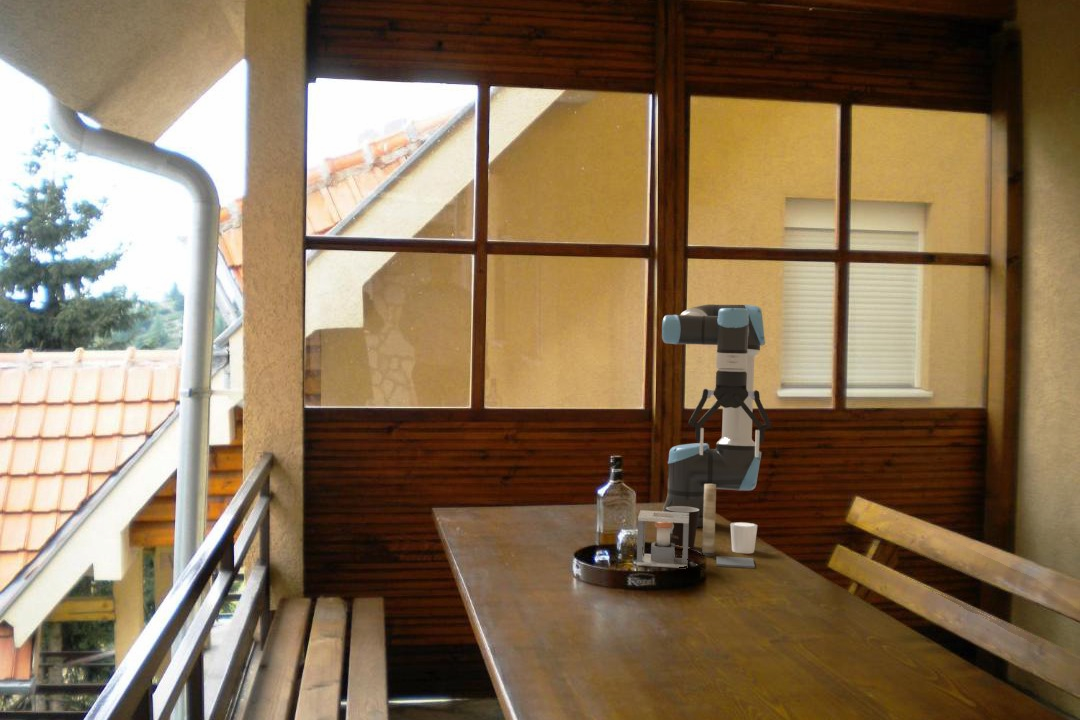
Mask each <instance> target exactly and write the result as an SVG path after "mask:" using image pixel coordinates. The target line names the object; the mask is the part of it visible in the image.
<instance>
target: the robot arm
mask: <svg viewBox="0 0 1080 720" xmlns="http://www.w3.org/2000/svg"><path fill="white" fill-rule="evenodd" d="M763 320H764V319H763V311H762V309H761V307H759V306H757V305H752V304H702V305H698V306H697V305H696V306H695V307H694V306H693V307H691V308H688V309H686V310H684V311H682V312H681V313H680V314H666V315H664V317H663V319H662V322H661V323H662V326H661V339H662V341H663V343H664V344H673V345H704V346H705V345H707V346H716V348H717V349H716V361H715V362H716V364H715V365H716V366H715V367H716V369H718V370H716V372H715V388H714V390H712V389H708V388H703V389H702V393H701V394H702V395H701V399H700V400H699V402H698V404H697V406H696V407H695V409H694V411H693V413H692V415H691V417H690V418H689V420H688V425H689V426H691V427H694V428H695V441H696V442H697V443H695V442H694V443H686V444H678V445H675V446H672V447H671V448H670V450H668V451H669V453H668V461H667V464H668V472H667V473H668V475H667V477H668V478H667V494H666V495H667V496H666V498H665V499H666V500H665V502H664V505H663V507H662V510H661V511H664V512H666V508H667V507H672V506H685V507H693V508H697V509H699V516H698V523H697V528H703V507H704V484H716V490H727V491H728V490H730V491H731V490H733V491H739V492H740V491H753V490H754V489H755V488H756V486H757V482H758V475H759V470H760V465H761V463H760V462H761V458H762V451H760V445H761V444H764V441H765V431H766V430H768V429H772V427H773V426H772V423H771V421H770V418H769V416H768V414H767V412H766V410H765V408H764V406H763V404H762V402H761V398H760V391H759V390H757V389H756V390H754V377H755V375H754V374H755V357H756V356H757V355H758V354H759V353H760V352H761V347H762V346H765V344H766V341H765V340H766V339H765V330H764V321H763ZM712 396H713V397H715V399H716V401H715V402H714V403H713V404H712V406H711V407H710V408H709V409H708V410H707V411H706V412H705V413H704V414H703V416H702V417H701V418H700V419H699V420H698V421H696V420H697V419H698V417H699V415H700V412H701V411H702V410H703V408H704V406H705V404H706V402H707V399H710V398H711V397H712ZM753 402H755V404H756V407H757V409H758V412H759V414H760V416H761V418H762V420H763V422H764V423H763V424H762V423H761V422H760V420H759V419H758V418H757V417H756V415H755V414H754V413H753V410H754V409H753V408H754V407H753V405H754V404H753ZM721 407H722V420H721V421H722V426H721V427H722V428H721V438H720V439H719V440H718V441H717V442H716V445H715V446H716V447H715V448H710V445H709V444H708V443H706V442H705V443H704V431H705V429H704V427H702V426H703V425H705V423H706V422H707V421H708V420H709V419H710V418H711V417H712V416H713V414H715V412H717V410H719V408H721ZM753 423H754V425H756V427H757V428H758V429H755V434H754V435H755V436H754V437H755V438H754V440H755V441H754V440H753V438H752V437H753V434H752V433H753ZM660 517H664V516H660Z"/></svg>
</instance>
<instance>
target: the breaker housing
mask: <svg viewBox="0 0 1080 720" xmlns="http://www.w3.org/2000/svg"><path fill="white" fill-rule="evenodd" d="M661 516H664V517H661ZM646 522H654V523H655V522H672V523H683V550H682V555H681V556H682V558H675V553H676V551H675V550H676V549H675V544H673V543H670V546H658V545H657V541H653V542H651V544H650V545H651V546H650V553H644V556H643V558H642V547H643V550H644V551H645V535H646V533H645V531H646ZM688 534H689V513H683V512H664V511H662V510H646V509H645V510H643V509H641V510H640V511H639V513H638V517H637V540H636V541H637V542H636V543H637V544H636V546H637V547H636V548H637V549H636V566H638V567H639V566H640V567H658V568H674V569H680V568H679V567H684V566H687V567H688V563H689V562H688V561H689V550H688ZM687 559H688V560H687Z"/></svg>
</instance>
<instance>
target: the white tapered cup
mask: <svg viewBox="0 0 1080 720" xmlns="http://www.w3.org/2000/svg"><path fill="white" fill-rule="evenodd" d="M757 531H758V524H756V523H753V522H752V523H751V522H747V521H746V522H744V521H740V522H731V523H730V540H731V551H732V553H733V552H734V553H738V554H753V553H755V548H756V540H757Z"/></svg>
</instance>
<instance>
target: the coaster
mask: <svg viewBox="0 0 1080 720" xmlns="http://www.w3.org/2000/svg"><path fill="white" fill-rule="evenodd" d="M715 558H716V559H715V561H716V567H723V568H724V567H725V568H726V567H727V568H743V569H755V568H756V566H755V562H754V561H755V560H754V558H753V557H740V556H739V557H737V556H722V555H720V556H719V555H716V557H715Z"/></svg>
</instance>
